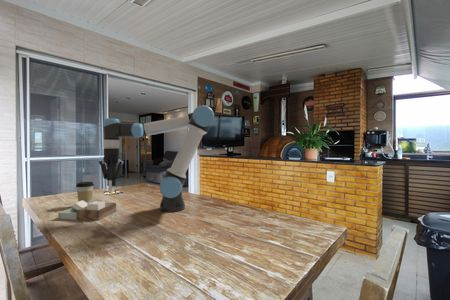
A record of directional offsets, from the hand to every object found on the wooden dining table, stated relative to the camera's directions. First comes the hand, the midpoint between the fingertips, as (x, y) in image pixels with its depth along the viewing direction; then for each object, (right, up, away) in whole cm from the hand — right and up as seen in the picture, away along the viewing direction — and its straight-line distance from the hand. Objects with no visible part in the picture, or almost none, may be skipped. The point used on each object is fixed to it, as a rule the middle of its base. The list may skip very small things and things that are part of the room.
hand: (111, 192), depth 121 cm
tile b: (-9, -9, +1) cm, 12 cm away
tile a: (-21, -9, +10) cm, 25 cm away
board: (-10, -14, +5) cm, 18 cm away
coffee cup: (-29, -14, +24) cm, 40 cm away
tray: (-21, -14, +6) cm, 26 cm away
